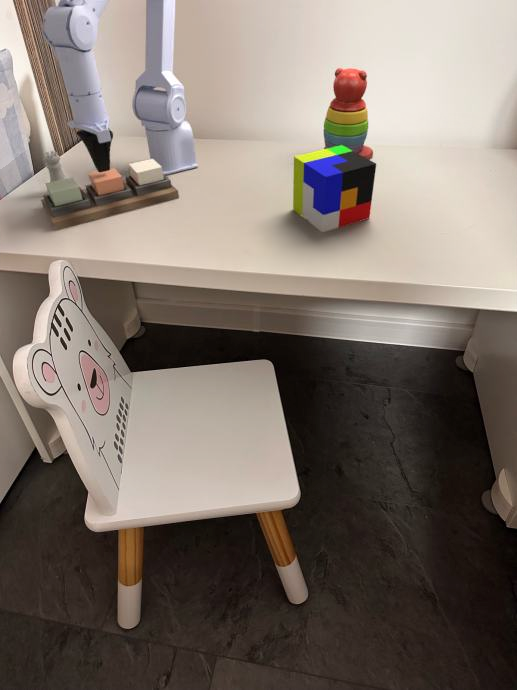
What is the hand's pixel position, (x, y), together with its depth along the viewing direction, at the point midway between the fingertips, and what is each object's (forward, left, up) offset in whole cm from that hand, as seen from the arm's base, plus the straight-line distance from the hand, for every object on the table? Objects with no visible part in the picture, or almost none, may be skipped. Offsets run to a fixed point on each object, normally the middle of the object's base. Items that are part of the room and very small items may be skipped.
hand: (103, 170), depth 93 cm
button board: (0, 0, -6) cm, 6 cm away
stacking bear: (-51, +7, -7) cm, 52 cm away
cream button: (-8, 0, -3) cm, 9 cm away
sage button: (+8, 0, -3) cm, 9 cm away
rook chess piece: (+7, -10, -7) cm, 14 cm away
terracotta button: (0, 0, -3) cm, 3 cm away
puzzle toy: (-33, +27, -7) cm, 43 cm away
